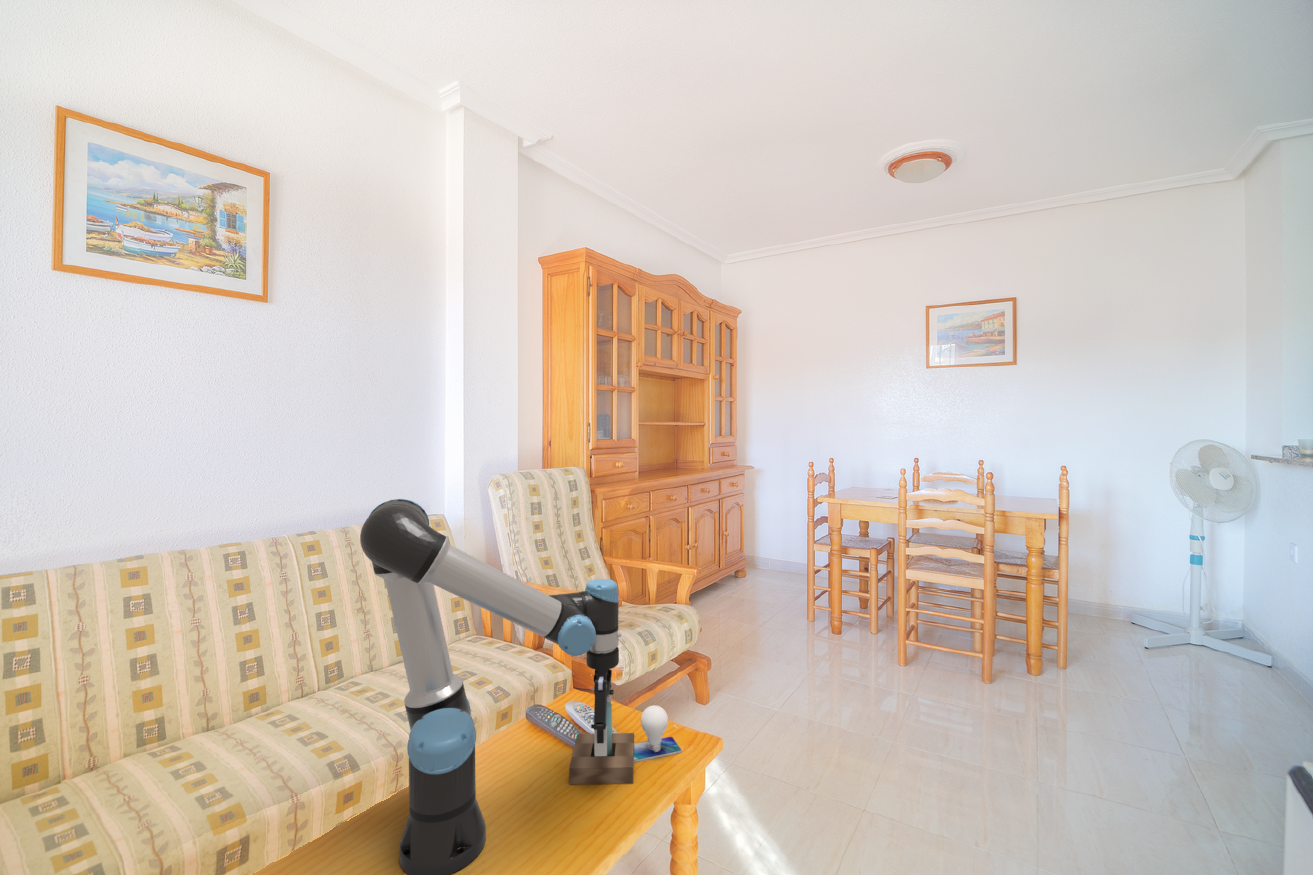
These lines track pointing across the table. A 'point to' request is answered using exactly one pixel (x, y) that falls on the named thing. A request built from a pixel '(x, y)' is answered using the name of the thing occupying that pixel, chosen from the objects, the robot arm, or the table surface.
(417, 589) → the robot arm
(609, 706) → the peg
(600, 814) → the table surface
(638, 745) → the smartphone
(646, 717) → the light bulb
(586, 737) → the socket block
